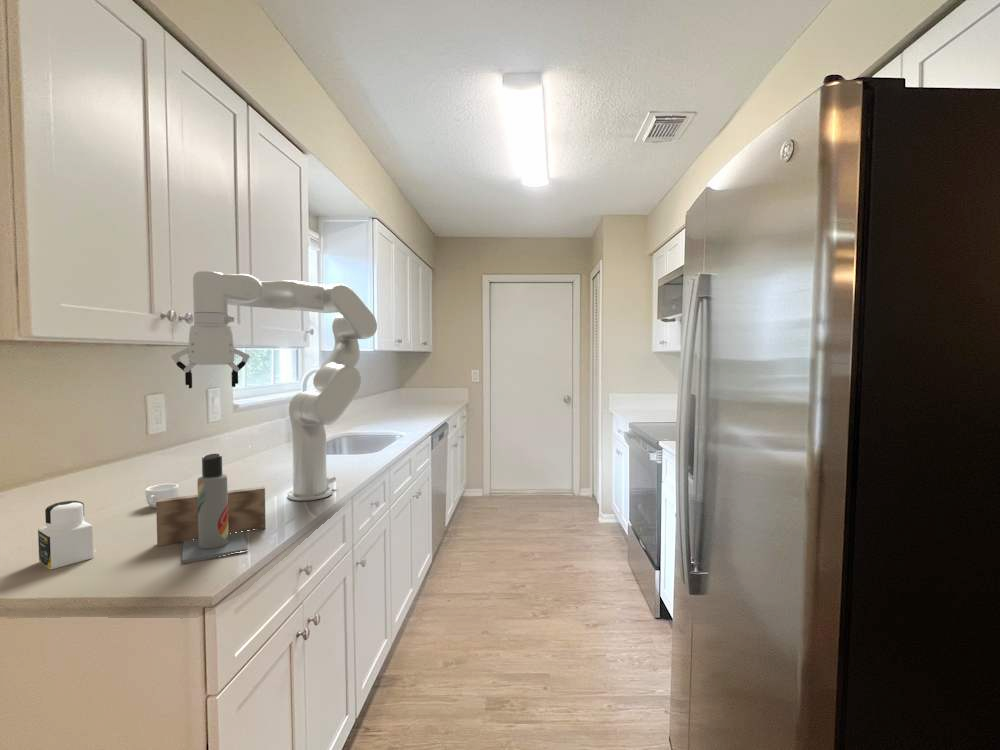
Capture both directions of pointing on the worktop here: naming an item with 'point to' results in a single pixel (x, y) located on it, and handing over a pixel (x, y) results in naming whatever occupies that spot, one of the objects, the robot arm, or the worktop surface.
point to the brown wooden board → (182, 515)
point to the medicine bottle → (65, 535)
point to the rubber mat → (198, 554)
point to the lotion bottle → (212, 503)
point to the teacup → (161, 493)
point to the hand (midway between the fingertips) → (212, 387)
